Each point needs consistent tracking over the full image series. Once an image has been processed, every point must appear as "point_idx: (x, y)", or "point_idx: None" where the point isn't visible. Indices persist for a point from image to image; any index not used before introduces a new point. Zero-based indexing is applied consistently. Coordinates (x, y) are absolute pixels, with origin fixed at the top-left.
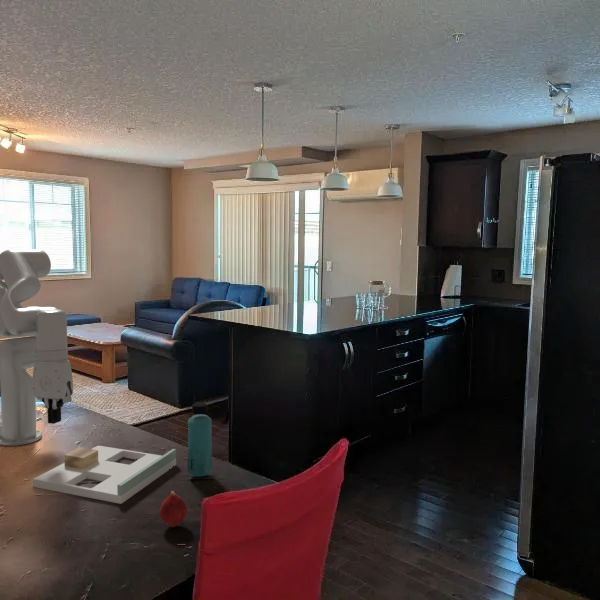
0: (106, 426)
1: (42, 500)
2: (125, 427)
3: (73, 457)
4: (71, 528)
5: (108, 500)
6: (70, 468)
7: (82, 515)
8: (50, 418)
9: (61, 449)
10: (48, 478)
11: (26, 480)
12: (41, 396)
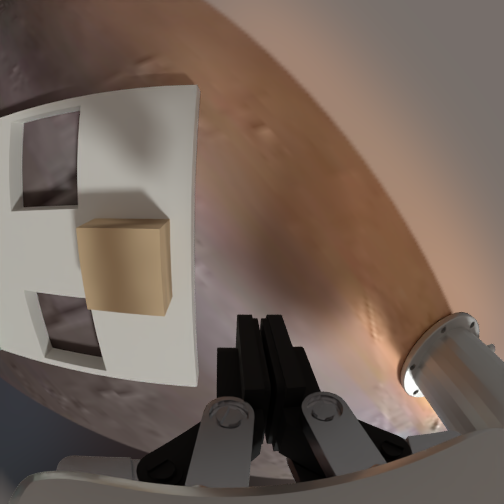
0: None
1: (115, 44)
2: None
3: (117, 227)
4: (12, 19)
5: None
6: (134, 206)
7: (9, 55)
8: (265, 337)
9: (314, 356)
10: (148, 109)
11: (256, 123)
12: (412, 474)
